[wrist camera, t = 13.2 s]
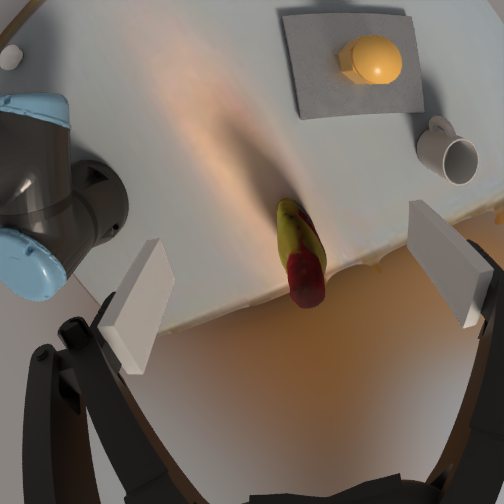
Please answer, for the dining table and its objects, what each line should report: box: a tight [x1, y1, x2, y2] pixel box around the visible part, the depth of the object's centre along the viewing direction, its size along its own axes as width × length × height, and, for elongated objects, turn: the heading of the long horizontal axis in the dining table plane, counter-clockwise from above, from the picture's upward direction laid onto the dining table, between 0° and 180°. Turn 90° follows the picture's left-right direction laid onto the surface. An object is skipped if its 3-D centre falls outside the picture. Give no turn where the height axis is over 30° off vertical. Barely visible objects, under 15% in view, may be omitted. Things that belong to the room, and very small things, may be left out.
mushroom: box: [0, 45, 23, 70], centre depth 32 cm, size 5×5×5 cm
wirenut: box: [338, 35, 402, 84], centre depth 33 cm, size 7×7×7 cm
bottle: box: [277, 199, 327, 308], centre depth 42 cm, size 12×6×20 cm, turn 19°
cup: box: [417, 116, 479, 186], centre depth 39 cm, size 7×10×9 cm
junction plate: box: [282, 13, 425, 120], centre depth 35 cm, size 20×16×6 cm
